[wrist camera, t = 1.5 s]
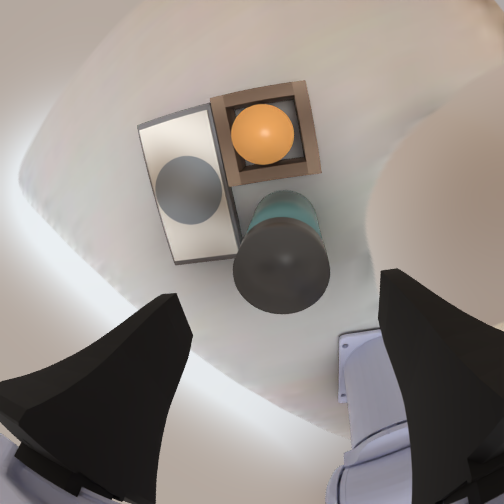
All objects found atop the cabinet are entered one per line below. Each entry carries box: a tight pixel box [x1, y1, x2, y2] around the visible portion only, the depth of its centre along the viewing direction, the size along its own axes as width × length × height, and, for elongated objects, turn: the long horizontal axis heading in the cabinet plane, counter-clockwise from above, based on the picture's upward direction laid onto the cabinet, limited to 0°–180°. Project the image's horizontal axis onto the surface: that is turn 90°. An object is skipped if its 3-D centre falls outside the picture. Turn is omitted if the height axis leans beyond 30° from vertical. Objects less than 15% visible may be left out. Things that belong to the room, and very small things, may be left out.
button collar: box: [210, 80, 322, 187], centre depth 15 cm, size 5×5×2 cm
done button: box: [231, 104, 294, 165], centre depth 13 cm, size 3×3×3 cm
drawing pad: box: [137, 103, 242, 265], centre depth 17 cm, size 10×5×1 cm, turn 11°
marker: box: [233, 190, 330, 314], centre depth 15 cm, size 4×4×7 cm
